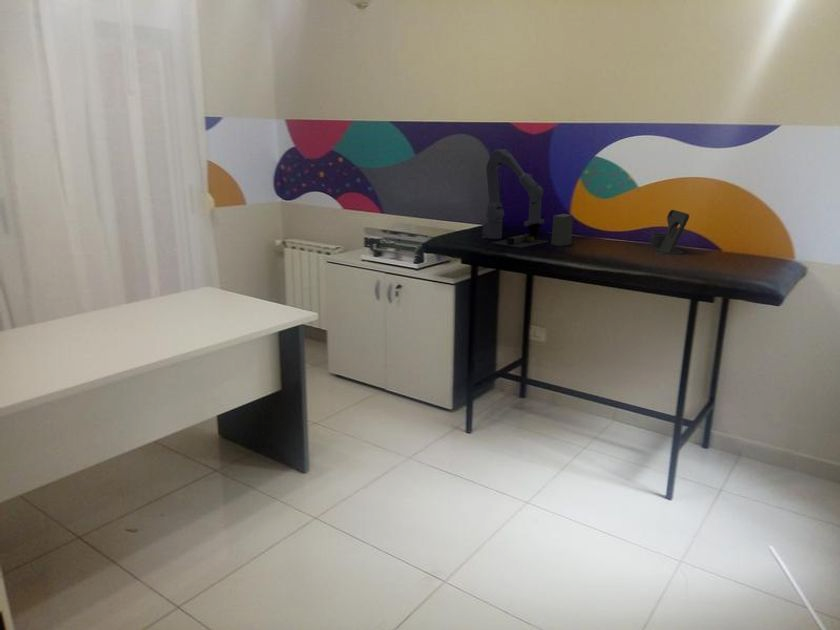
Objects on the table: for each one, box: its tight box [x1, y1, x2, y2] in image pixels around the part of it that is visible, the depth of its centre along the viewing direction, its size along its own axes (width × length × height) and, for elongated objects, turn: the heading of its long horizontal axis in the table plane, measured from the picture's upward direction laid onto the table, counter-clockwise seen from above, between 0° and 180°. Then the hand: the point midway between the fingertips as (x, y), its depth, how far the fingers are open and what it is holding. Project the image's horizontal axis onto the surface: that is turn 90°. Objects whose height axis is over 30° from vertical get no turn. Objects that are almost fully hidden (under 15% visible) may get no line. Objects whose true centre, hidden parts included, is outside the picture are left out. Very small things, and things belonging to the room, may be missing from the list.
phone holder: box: [649, 209, 690, 255], centre depth 279 cm, size 17×10×18 cm, turn 4°
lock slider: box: [526, 236, 534, 242], centre depth 297 cm, size 2×3×2 cm
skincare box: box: [551, 213, 574, 247], centre depth 289 cm, size 8×6×15 cm
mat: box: [490, 238, 550, 249], centre depth 297 cm, size 18×24×1 cm
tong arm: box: [508, 234, 527, 245], centre depth 293 cm, size 1×13×3 cm, turn 136°
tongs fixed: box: [506, 233, 530, 245], centre depth 295 cm, size 3×16×3 cm, turn 135°
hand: (533, 239), depth 298 cm, fingers closed
